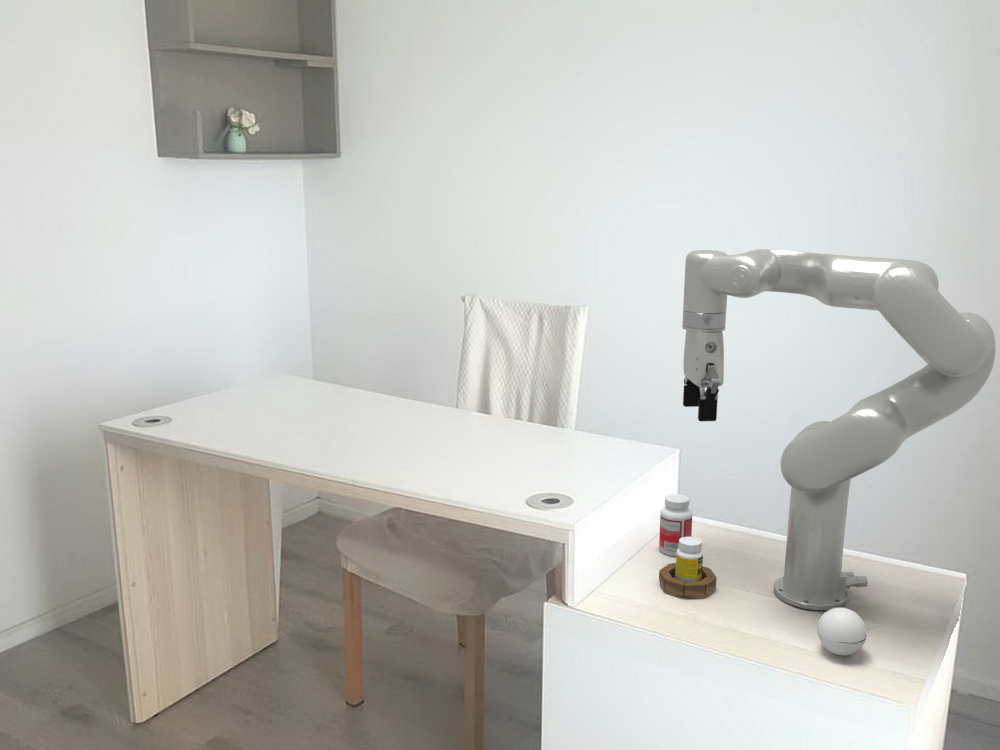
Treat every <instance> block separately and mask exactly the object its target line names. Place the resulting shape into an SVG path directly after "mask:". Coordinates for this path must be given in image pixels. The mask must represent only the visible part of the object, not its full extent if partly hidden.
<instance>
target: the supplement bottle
mask: <svg viewBox="0 0 1000 750" xmlns="http://www.w3.org/2000/svg"><path fill="white" fill-rule="evenodd" d="M702 543H703V542H702V539H700V538H698V537H695V536H691V537H682V538H680V539H679V549H678V550H677V552H676V556H675V563H676V570H675V579H678V580H681V581H684V582H697V581H702V566H703V563H704V561H703V559H704V552H703V551H702V547H703V546H702V545H703V544H702Z"/></svg>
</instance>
